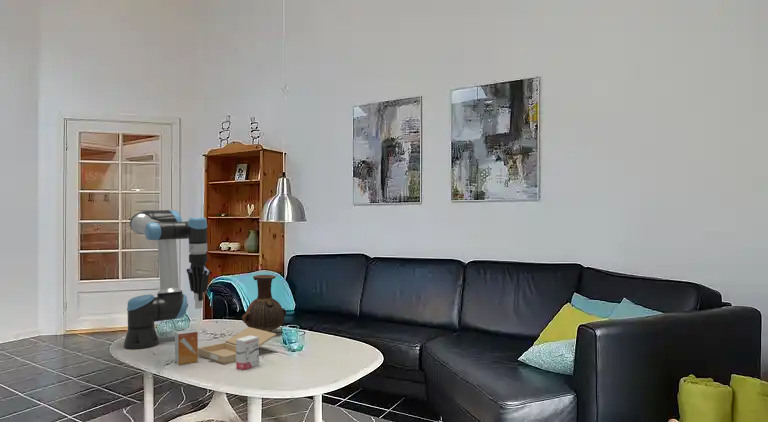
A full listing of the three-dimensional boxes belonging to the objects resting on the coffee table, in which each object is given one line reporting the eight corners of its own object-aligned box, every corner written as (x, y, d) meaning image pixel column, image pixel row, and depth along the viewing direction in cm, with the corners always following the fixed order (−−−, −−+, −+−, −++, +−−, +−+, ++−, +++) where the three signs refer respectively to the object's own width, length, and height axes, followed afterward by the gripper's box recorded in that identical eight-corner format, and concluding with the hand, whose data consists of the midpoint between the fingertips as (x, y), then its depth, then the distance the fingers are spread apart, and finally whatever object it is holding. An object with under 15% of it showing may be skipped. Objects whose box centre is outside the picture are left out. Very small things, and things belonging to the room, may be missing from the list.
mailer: (197, 355, 242) (197, 348, 242) (225, 349, 252) (224, 342, 252) (223, 364, 228) (223, 356, 228) (251, 357, 237) (251, 350, 237)
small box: (178, 365, 227) (177, 334, 227) (174, 361, 233) (174, 331, 233) (198, 362, 232) (197, 331, 232) (194, 358, 237) (193, 328, 237)
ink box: (244, 370, 219) (243, 340, 219) (235, 368, 222) (235, 339, 222) (259, 364, 227) (259, 336, 226) (251, 363, 229) (250, 335, 229)
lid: (248, 326, 262) (249, 328, 262) (224, 341, 252) (225, 343, 252) (276, 333, 247) (276, 335, 247) (251, 349, 237) (252, 351, 238)
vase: (255, 341, 267) (254, 279, 267) (232, 335, 280) (232, 276, 280) (295, 332, 285) (295, 274, 285) (272, 327, 298) (271, 272, 298)
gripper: (180, 253, 236) (181, 308, 236) (201, 254, 229) (201, 311, 229) (195, 252, 242) (196, 305, 242) (215, 253, 235) (216, 308, 235)
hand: (198, 308), depth 236 cm, fingers closed
